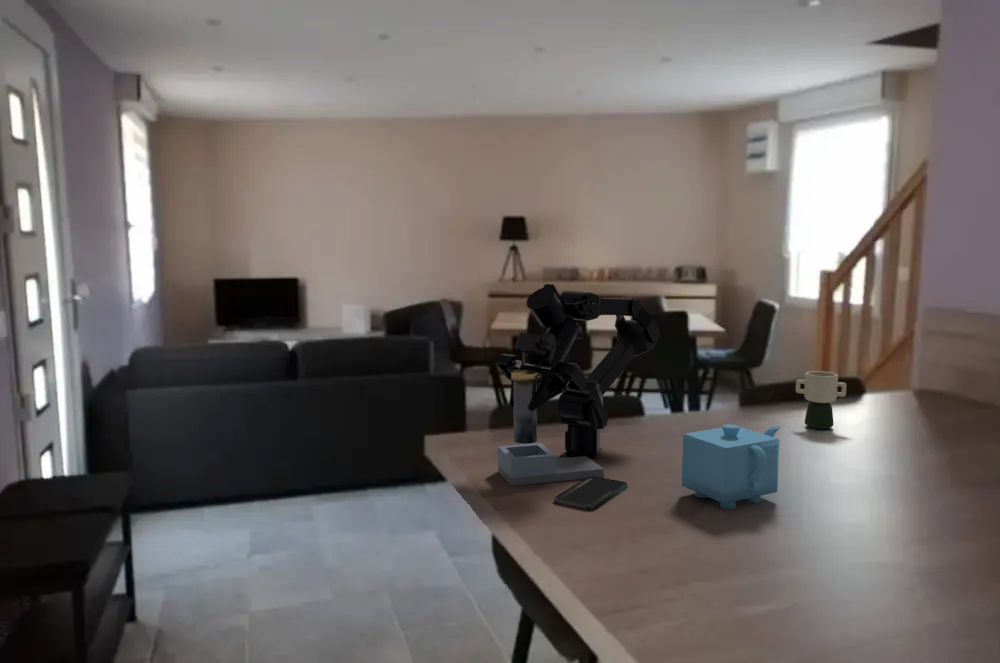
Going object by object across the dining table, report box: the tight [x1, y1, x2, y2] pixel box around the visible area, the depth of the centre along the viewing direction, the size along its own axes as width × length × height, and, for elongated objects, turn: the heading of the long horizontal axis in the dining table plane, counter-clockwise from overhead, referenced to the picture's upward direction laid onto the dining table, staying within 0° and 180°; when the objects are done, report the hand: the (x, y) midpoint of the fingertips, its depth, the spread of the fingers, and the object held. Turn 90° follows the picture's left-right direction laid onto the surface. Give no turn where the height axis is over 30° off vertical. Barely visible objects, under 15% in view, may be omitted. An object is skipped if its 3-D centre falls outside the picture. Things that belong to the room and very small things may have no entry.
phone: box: [554, 476, 628, 512], centre depth 136 cm, size 8×1×15 cm
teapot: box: [681, 423, 782, 510], centre depth 135 cm, size 18×16×13 cm
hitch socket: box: [497, 442, 605, 487], centre depth 148 cm, size 18×9×5 cm, turn 106°
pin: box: [511, 370, 540, 445], centre depth 145 cm, size 5×5×13 cm
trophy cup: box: [795, 370, 847, 429], centre depth 180 cm, size 11×7×13 cm, turn 65°
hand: (520, 407), depth 144 cm, fingers closed on pin, 4 cm apart
